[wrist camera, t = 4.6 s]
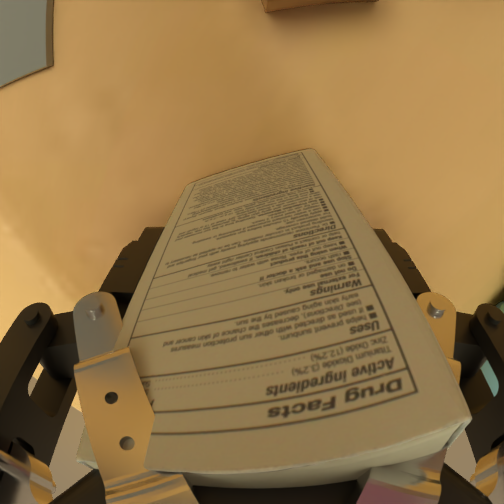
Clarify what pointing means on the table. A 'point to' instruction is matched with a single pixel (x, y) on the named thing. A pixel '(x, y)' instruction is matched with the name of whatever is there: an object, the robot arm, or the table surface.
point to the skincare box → (282, 338)
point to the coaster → (25, 38)
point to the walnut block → (300, 3)
